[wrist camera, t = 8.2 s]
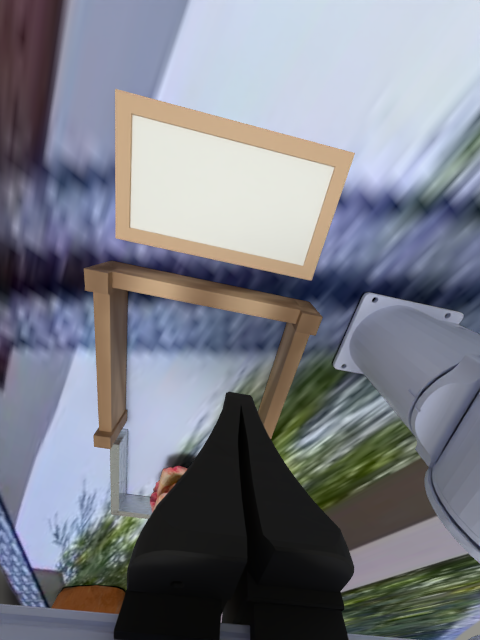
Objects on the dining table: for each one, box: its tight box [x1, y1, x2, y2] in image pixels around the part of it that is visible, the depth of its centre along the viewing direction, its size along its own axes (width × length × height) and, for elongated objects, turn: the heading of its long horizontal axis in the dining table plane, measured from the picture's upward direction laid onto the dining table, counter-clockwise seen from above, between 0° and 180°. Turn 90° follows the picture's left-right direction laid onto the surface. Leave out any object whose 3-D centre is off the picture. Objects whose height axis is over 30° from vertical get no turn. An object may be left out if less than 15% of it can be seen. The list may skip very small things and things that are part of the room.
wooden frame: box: [84, 261, 323, 449], centre depth 21 cm, size 17×18×4 cm
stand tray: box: [110, 429, 152, 519], centre depth 29 cm, size 16×14×2 cm
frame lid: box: [115, 89, 355, 280], centre depth 17 cm, size 16×9×1 cm, turn 78°
